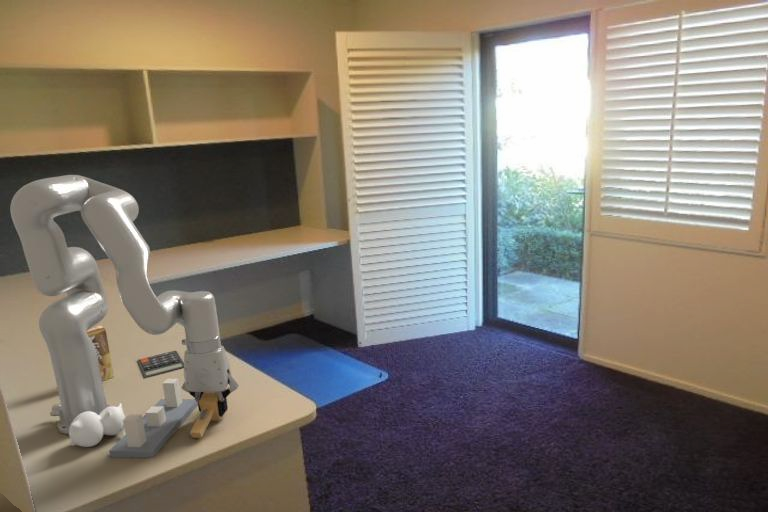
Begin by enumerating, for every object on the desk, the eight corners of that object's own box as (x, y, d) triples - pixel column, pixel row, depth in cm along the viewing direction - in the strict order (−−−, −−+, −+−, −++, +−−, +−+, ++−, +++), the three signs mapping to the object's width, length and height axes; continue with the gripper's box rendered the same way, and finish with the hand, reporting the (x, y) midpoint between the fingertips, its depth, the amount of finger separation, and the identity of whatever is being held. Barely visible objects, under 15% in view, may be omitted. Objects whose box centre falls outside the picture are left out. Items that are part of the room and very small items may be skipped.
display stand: (110, 456, 121) (103, 424, 119) (161, 404, 144) (157, 376, 142) (153, 457, 120) (147, 424, 118) (198, 404, 142) (194, 375, 140)
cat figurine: (120, 391, 131) (64, 410, 123) (138, 426, 126) (81, 448, 118) (116, 413, 136) (62, 433, 128) (134, 448, 131) (79, 470, 123)
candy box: (109, 373, 164) (100, 324, 161) (115, 377, 161) (105, 327, 158) (77, 384, 158) (67, 334, 154) (82, 388, 155) (72, 337, 152)
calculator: (175, 349, 178) (186, 365, 165) (176, 352, 178) (186, 368, 165) (136, 359, 172) (144, 376, 159) (137, 362, 172) (144, 379, 160)
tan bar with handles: (191, 446, 127) (185, 428, 124) (221, 385, 145) (216, 368, 142) (208, 446, 127) (202, 428, 124) (236, 385, 144) (231, 368, 141)
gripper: (162, 350, 128) (174, 421, 132) (232, 349, 126) (241, 422, 130) (177, 338, 135) (188, 405, 140) (243, 337, 133) (252, 406, 138)
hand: (213, 413), depth 135 cm, fingers closed on tan bar with handles, 4 cm apart
